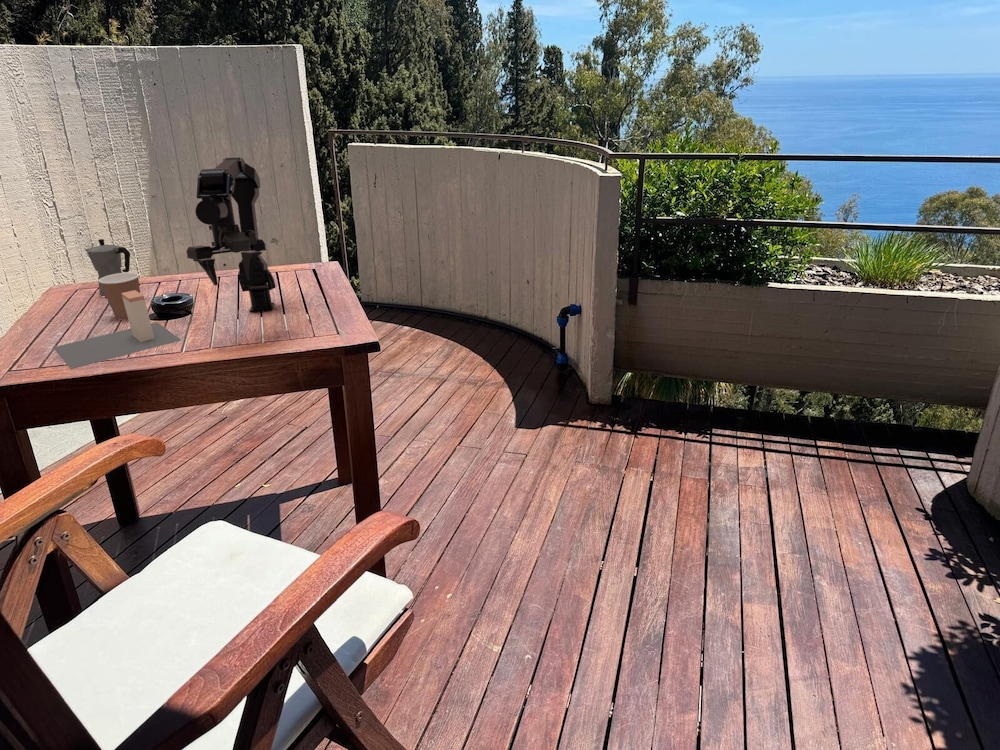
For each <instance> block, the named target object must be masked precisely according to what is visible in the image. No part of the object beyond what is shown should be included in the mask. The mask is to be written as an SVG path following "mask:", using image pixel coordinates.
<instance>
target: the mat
mask: <svg viewBox="0 0 1000 750" xmlns="http://www.w3.org/2000/svg"><path fill="white" fill-rule="evenodd" d="M151 326H152V330H153V334H154V338H155V339H151V340H148V341H144V342H140V341H139V340H138V339H136V338H135V337H134V336H133V334H132V330H131V328H127V329H123V330H120V331H115V332H114V331H113V332H110V333H106V334H102V335H98V336H93V337H90V338H86V339H82V340H77V341H74V342H69V343H65V344H61V345H56V346H52V348H53V350H54V351H55V352H56V353H57V354H58V356H60V358H61V359H62V360H63V361H64V363H65V364H66V365H67V367H69V369H70V370H73V369H77V368H81V367H84V366H88V365H93V364H96V363H100V362H104V361H108V360H111V359H114V358H119V357H122V356H126V355H132V354H135V353H139V352H142V351H145V350H150V349H154V348H157V347H160V346H165V345H169V344H173V343H177V342H180V341H182V339H181V338H179V337H178V336H177V335H176V334H174V333H173V332H171V331H170V330H168V329H167V328H165V326H163V325H162V324H160V323H159V322H158V321H156V322H151Z"/></svg>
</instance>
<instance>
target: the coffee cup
mask: <svg viewBox="0 0 1000 750" xmlns="http://www.w3.org/2000/svg"><path fill="white" fill-rule="evenodd" d="M139 280H140V279H139V273H136V272H122V273H118V274H112V275H108V276H105V277H103V278H101V279H99V281H98V283H99V282H100V283H101V285H102V287H103V290H104V292H105V295H106V297H107V298H106V299H107V302H108V304H109V307H110V308H111V311H112V313H113V315H114V317H115V318H116V320H117V319H118V321H123V320H128V316H127V312H126V309H125V305H124V301H123V298H122V294H121V293H124V292H129V291H134V290H136V291H137V292H139V293H140V294H141V288H140V281H139Z"/></svg>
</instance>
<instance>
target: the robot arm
mask: <svg viewBox="0 0 1000 750" xmlns="http://www.w3.org/2000/svg"><path fill="white" fill-rule="evenodd" d="M196 181H197V184H196V199H198V200H199V199H201V200H200V201H199V202H198V203H197V204H196V206H195V211H194V212H195V216H196V218H197V219H198V220H199V221H200V222H201V223H202V224H205V225H208V229H209V231H210V230H211V232H212V238H213V239H212V240H213V241H211V245H212V246H210V245H203V244H202V245H201V244H200V245H194V246H188V248H187V250H186V256H187V259H191V260H192V261H193V262H195V263H196V262H197V264H199V266H200V267H201V268H202V269H203V270H204V272H205V273H206V275H207V276H208V277H209V279H210V281H211V282H212V284H213V286H215V287H216V286H218V279H217V278H218V277H217V273H216V268H215V263H216V262H215V261H216V259H215V258H212V257H213V256H214V255H221V254H226V253H235V254H238V253H240V254H241V261H239V262H238V270H239V271H238V273H237V278H238V283H239V285H240V288H241V291H242V292H248V294H249V299H250V304H251V306H250V309H249V313H259V312H269V311H274V307H275V302H272V297H271V291H272V290H274V289H276V287H277V286H276V282H275V279H274V277H273V275H272V272H271V270H270V269H269V267H268V263H267V262H266V260H264V258H263V257H262V256H261V255H262V253H263V251H266V250H267V247H266V243H265V241H264V240H263V239H260V238H259V232H258V222H257V214H256V203H257V200H258V198H259V196H260V188H261V180H260V177H259V174H258V173H257V170H256V169H255V168H254V167H252V166H251V165H249V164H248V163H246V161H245V160H244V158H241V157H225V158H223V159H222V161H221V163H219V164H218V165H217V166H215V167H214V168H207V169H206V168H204V169H201V170H200V171H199V173H198V174H197V180H196ZM232 198H233V199H234V201H235V203H236V204H237V209H238V210H237V211H238V218H239V224H238V223H237V224H236V220H235V213H234V208H233V202H232V200H233V199H232ZM239 225H240V226H239Z"/></svg>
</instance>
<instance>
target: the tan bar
mask: <svg viewBox="0 0 1000 750" xmlns="http://www.w3.org/2000/svg"><path fill="white" fill-rule="evenodd" d="M121 294H122V298H123V301H124V305H125V309H126V312H127V316H128V319H127V320H128V323H129V326H130V329H131V330H132V334H133V336H134V337H135V338H136V339H138V340H139V341H140V342H144V341H148V340H151V339H155V338H154V334H153V330H152V326H151V324H152V322H151V320H150V319H151V318H150V315H149V312H148V308H147V305H146V304H147V303H146V301H145V296H144V295H143V293H141V292H140V293H139V292H137V291H136V290H134V291H129V292H124V293H121Z"/></svg>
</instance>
